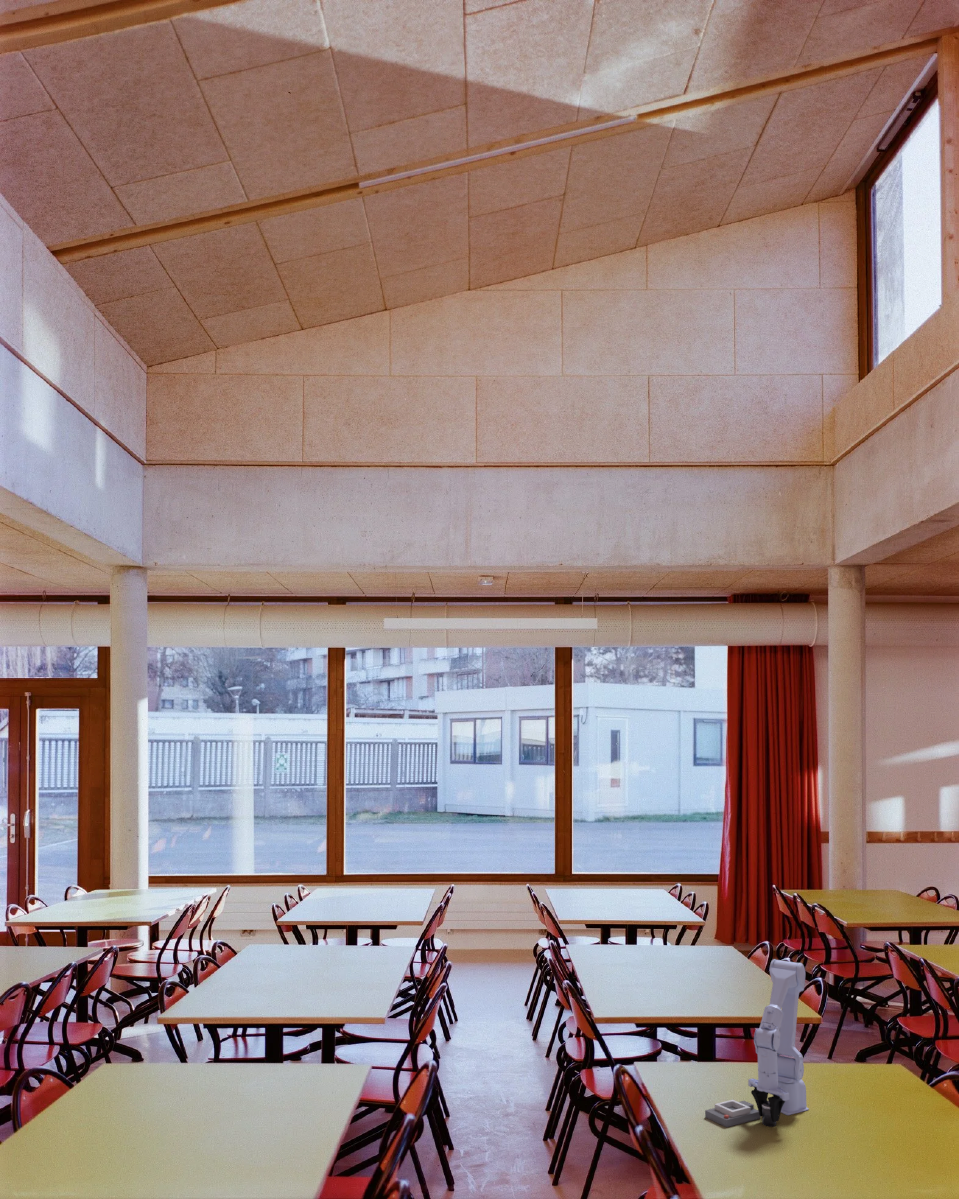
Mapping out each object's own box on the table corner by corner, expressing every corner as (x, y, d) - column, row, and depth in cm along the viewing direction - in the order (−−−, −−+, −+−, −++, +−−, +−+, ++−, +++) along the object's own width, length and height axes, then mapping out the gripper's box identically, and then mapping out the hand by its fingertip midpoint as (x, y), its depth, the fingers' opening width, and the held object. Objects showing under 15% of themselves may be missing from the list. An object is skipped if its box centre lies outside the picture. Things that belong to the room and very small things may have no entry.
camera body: (738, 1108, 315) (738, 1096, 315) (760, 1118, 307) (760, 1106, 307) (705, 1117, 308) (705, 1105, 308) (726, 1127, 300) (726, 1114, 300)
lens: (769, 1120, 305) (768, 1099, 306) (779, 1125, 302) (778, 1104, 303) (759, 1123, 303) (758, 1102, 304) (769, 1127, 300) (769, 1106, 301)
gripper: (740, 1065, 309) (741, 1112, 307) (776, 1080, 296) (778, 1129, 295) (757, 1062, 312) (758, 1108, 311) (793, 1076, 300) (795, 1124, 298)
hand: (769, 1118), depth 303 cm, fingers open, 4 cm apart
